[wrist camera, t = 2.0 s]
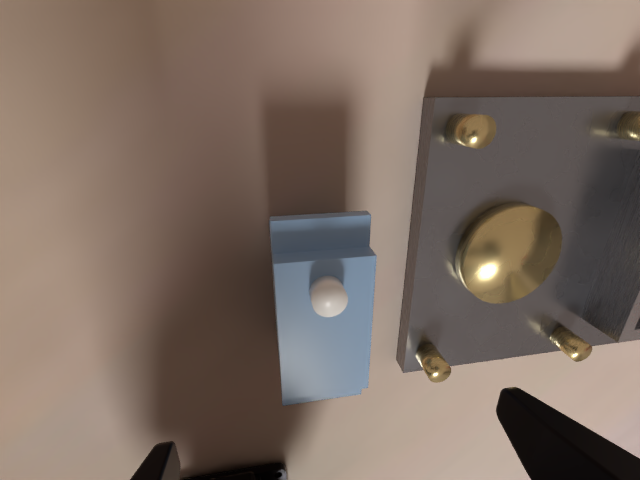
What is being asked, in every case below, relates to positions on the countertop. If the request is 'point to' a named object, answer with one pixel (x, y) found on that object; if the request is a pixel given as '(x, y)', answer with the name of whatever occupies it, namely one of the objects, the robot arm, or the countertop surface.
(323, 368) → the servo
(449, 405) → the countertop surface
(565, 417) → the robot arm
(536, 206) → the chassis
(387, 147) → the countertop surface
